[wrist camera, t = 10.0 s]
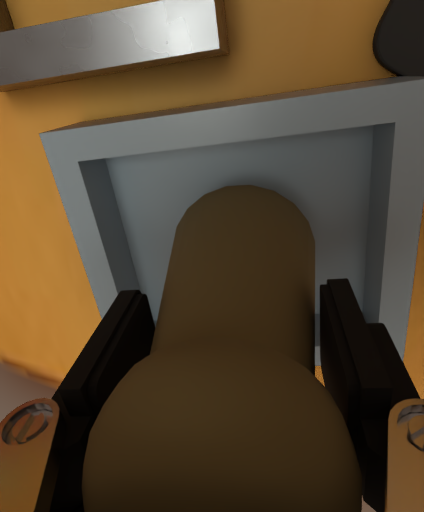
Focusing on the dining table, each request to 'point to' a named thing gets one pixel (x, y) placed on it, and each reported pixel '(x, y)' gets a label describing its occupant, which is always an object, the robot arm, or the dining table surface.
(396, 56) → the phone
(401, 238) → the tray
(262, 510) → the cork
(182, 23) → the collar
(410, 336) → the dining table surface
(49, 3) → the dining table surface
